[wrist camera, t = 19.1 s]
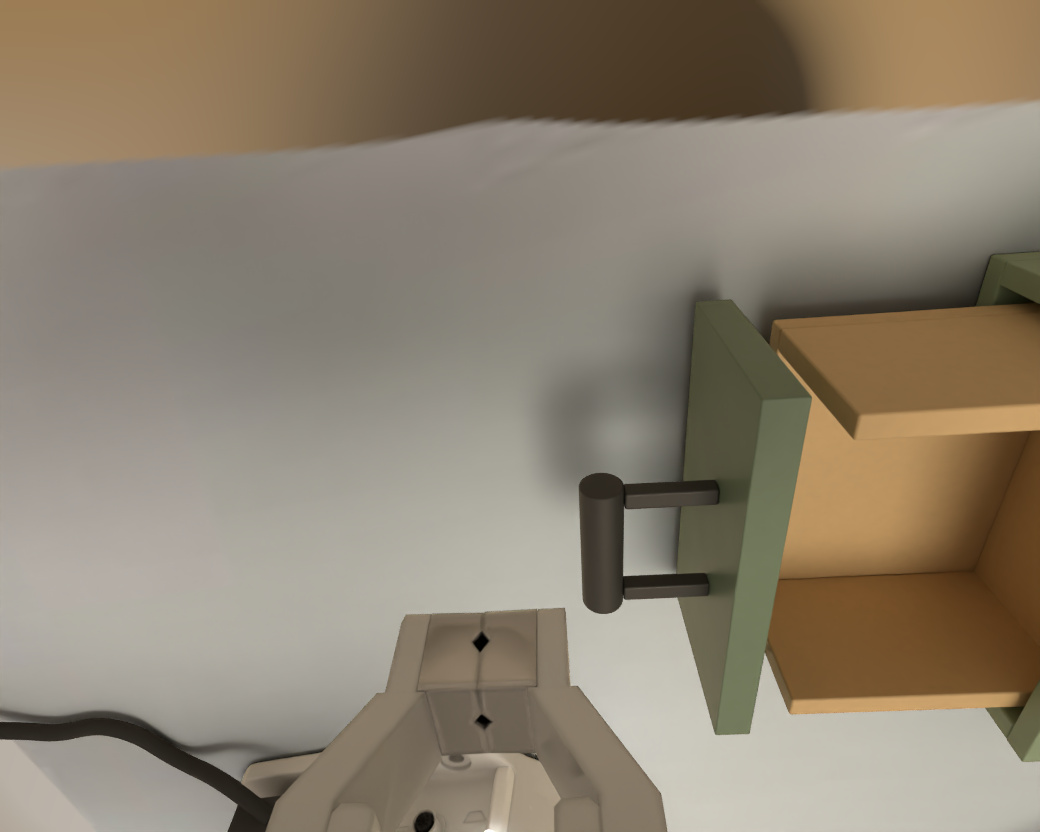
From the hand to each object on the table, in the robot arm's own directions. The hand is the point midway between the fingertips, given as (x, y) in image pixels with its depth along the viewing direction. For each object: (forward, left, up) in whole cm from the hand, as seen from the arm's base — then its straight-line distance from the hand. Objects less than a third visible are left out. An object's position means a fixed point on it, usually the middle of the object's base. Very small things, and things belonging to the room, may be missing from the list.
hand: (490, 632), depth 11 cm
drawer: (+10, -5, -12) cm, 17 cm away
